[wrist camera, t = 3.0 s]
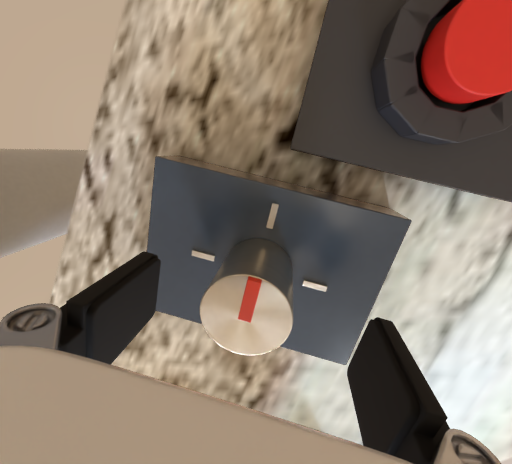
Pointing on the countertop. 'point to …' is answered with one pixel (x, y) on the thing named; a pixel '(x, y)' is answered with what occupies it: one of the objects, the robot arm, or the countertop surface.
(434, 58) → the power button
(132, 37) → the countertop surface
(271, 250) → the dial
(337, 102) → the switch block
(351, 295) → the control panel
